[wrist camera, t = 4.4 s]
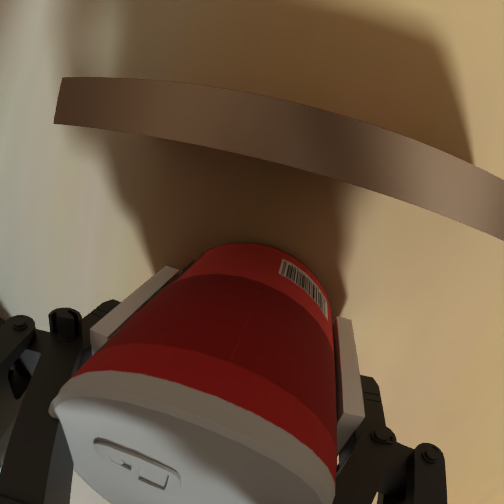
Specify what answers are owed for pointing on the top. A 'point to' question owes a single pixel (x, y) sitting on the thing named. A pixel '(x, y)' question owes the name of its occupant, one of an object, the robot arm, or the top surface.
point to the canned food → (213, 390)
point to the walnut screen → (289, 141)
